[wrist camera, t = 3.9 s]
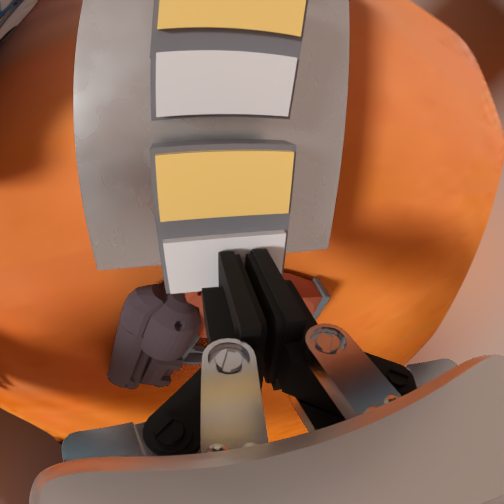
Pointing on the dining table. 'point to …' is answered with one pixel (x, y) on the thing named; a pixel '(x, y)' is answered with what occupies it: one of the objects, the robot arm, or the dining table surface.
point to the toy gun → (173, 331)
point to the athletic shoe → (13, 15)
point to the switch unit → (195, 128)
